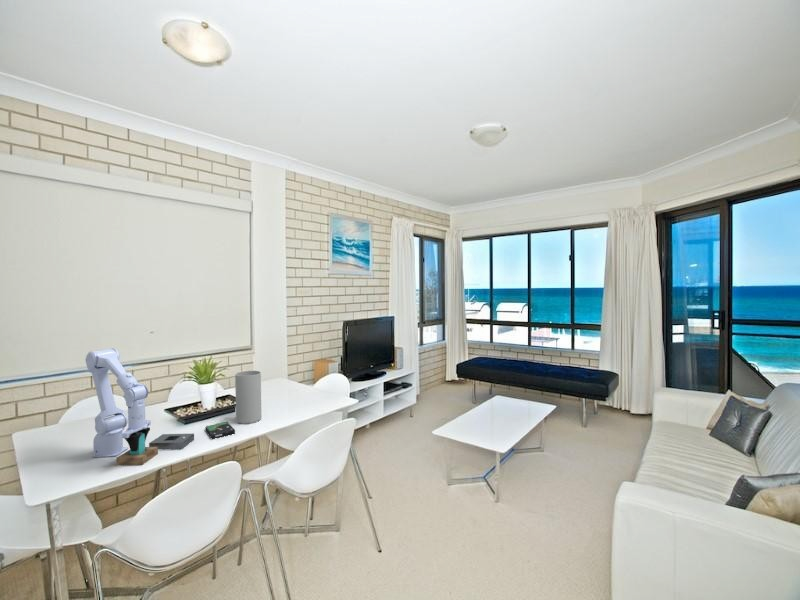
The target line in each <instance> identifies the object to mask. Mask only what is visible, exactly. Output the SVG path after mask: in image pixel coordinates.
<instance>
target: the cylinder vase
mask: <svg viewBox="0 0 800 600" xmlns="http://www.w3.org/2000/svg"><path fill="white" fill-rule="evenodd" d="M261 375H262V372H261V371H260V370H245V371H240V372H236V373H235V374H234V376H235V377H234V380H235V384H234V385H235V387H234V388H235V390H234V391H235V421H236V423H238V424H240V423H241V424H243V425H249V424H253V422H254V423H257V422H259V421H260V420H261V419H262V376H261ZM248 423H249V424H248Z"/></svg>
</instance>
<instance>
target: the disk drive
mask: <svg viewBox="0 0 800 600" xmlns="http://www.w3.org/2000/svg"><path fill="white" fill-rule="evenodd" d="M204 429H205V430H206V431H205V432H206V434H207V435H208V434H209V435H208V436H209V437H210V439H211V438H212V439H211V440H216V439H215V438H217V439H219V438H220V437H221V438H225V437H229V436H228V435H230V436H232V434H234V435H236V430H235V428H234V427H233V426H232V425H231V424H230V423H229V422H228V421H222V422H218V423H214V424H210V425H206V426H205V428H204ZM224 436H225V437H224Z"/></svg>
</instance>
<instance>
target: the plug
mask: <svg viewBox="0 0 800 600" xmlns="http://www.w3.org/2000/svg"><path fill="white" fill-rule="evenodd" d="M136 433H137V434H141V436H140V438H139V442H138V450H137V451H131V449H130V448H129V450H130V455H140V454H142V453H143V452H145V447H146V440H145V434H142V432H136Z"/></svg>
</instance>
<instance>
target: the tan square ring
mask: <svg viewBox="0 0 800 600" xmlns="http://www.w3.org/2000/svg"><path fill="white" fill-rule="evenodd" d="M158 454H159V450H158V447H149V446H145V452H143V453H142V454H140V455H130V449H127V450H126V451H124V452H123V453H121V455H120V454H119V456H117V457H116V458H115V460H116V462H115V465H116V466H117V465H121V466H143V465H145V464H146V463H147V462H149V461H150V460H151V459H153V458H154V457H156V456H157V455H158ZM144 463H145V464H144Z"/></svg>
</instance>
